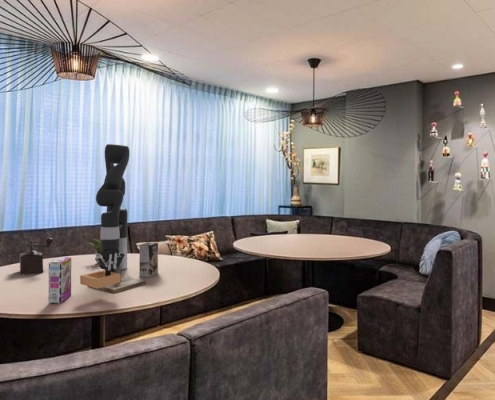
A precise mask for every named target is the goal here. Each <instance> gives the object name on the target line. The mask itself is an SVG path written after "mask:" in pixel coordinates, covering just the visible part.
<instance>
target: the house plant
mask: <svg viewBox="0 0 495 400" xmlns="http://www.w3.org/2000/svg"><path fill="white" fill-rule="evenodd" d="M95 237H96V238H93V237H92V240H94V241H95V242H96V243H93V242H88V244H89V245H91V246H92V247H93V248H95V249H96V250H97V251H96V252H95V258H96V257H97V258H98V257H99V256H100V254H101V239H99V238H98V237H97V236H95ZM103 262H104V259H103Z"/></svg>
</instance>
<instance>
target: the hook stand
mask: <svg viewBox="0 0 495 400" xmlns="http://www.w3.org/2000/svg"><path fill="white" fill-rule="evenodd" d="M115 273H118V274H120V283H116V284H113V285H109V286H105V287H101V288H98V289H97V288H95V289H97V290H101V291H104V292H109V293H113V294H115V293H119V292H122V291H123V292H124V291H126V290H129V289H134V288H135V287H139V286H143V285H146V284H147V280H144V279H141V278H135V277H130V276H128V275H127V276H126V275H122V270H121V267H120V266H119V267H117V268H116V269H115Z"/></svg>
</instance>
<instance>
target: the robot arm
mask: <svg viewBox="0 0 495 400" xmlns="http://www.w3.org/2000/svg"><path fill="white" fill-rule="evenodd" d="M130 152H131V151H130V148H129V146H128V145H124V144H117V143H116V144H115V143H107V144H105V147H104V163H105V172H106V174H105V176H104V181H103V184H102V185H101V186H100V188H99V189H98V191H97V193H96V196H95V202H96V203H97V205H98V206H99V207H106V212H102V213H101V215H100V232H99V233H100V237H99V238H100V239H99V240H100V242H101V254H100V256H99V257H98V258H97V257H96V256H95V259H94V260H95V262H96V263H97V264H98V267H99V268H100V270H105V277H106V276H110V275H111V272H114V273H115V269H116V268H117V267H119V266H120V267H121V271H122V270H127V269H128V216H129V215H128V210H127V208H124V207H122V205H123V202H124V201H123V200H124V196H125V194H126V181H125V179H124V177H123V176H124V174H125V172H126V170H127V167H128V163H129V160H130ZM103 259H104V262H103Z"/></svg>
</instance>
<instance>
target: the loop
mask: <svg viewBox="0 0 495 400" xmlns="http://www.w3.org/2000/svg"><path fill="white" fill-rule="evenodd" d="M79 277H80V278H79V279H80V280H79V281H80V282H79V285H83V286H87V287H90V288H94V289H96V288H97V290H99V289H98V288H101V287H105V286H109V285H113V284H116V283H120V274H118V273H114V272H111V275H110V276H106V277H105V270H104V269H101V270H99V271H94V272H90V273H84V274H81V275H80V276H79Z"/></svg>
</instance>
